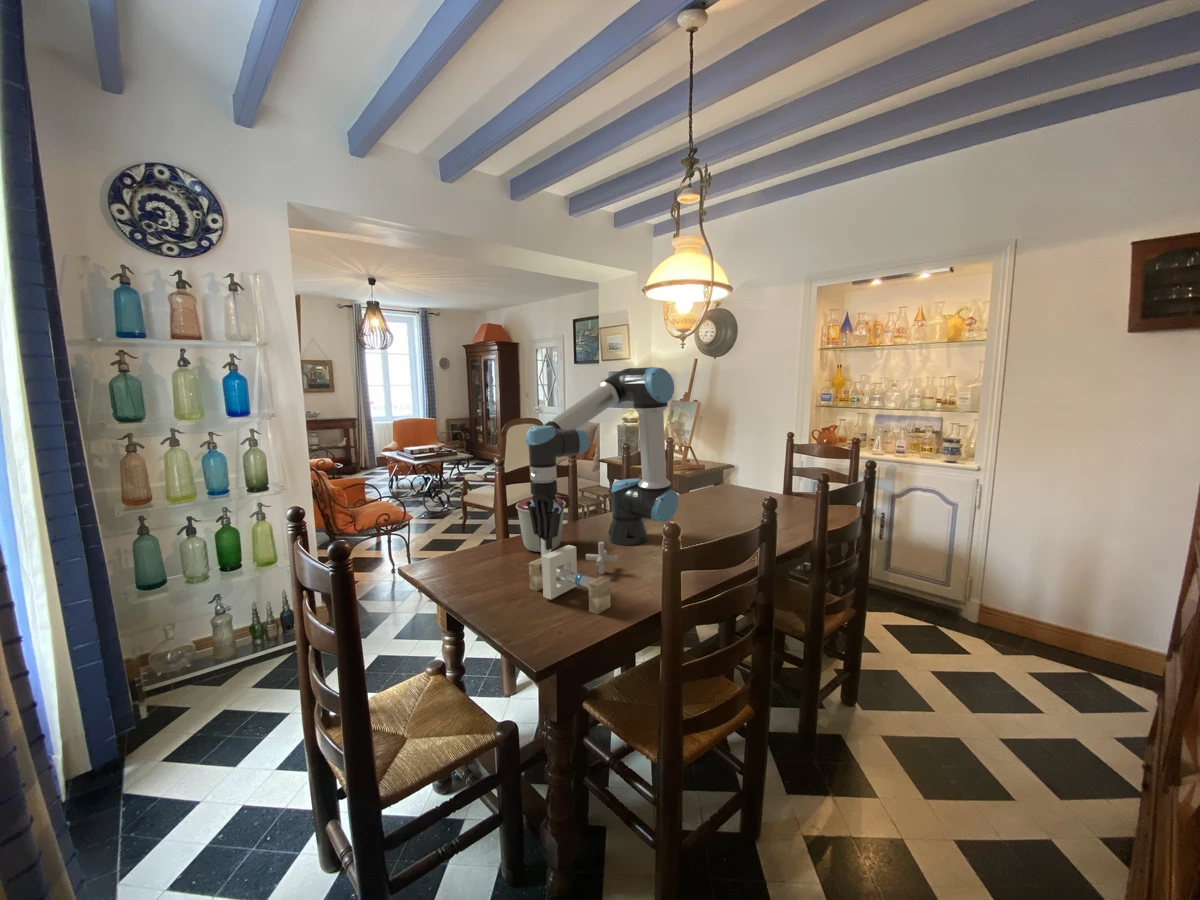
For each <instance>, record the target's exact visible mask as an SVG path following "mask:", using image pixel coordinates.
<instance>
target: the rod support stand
mask: <svg viewBox="0 0 1200 900" xmlns="http://www.w3.org/2000/svg"><path fill="white" fill-rule="evenodd" d="M541 563H542V560H541V557H540V558H537V559H535V560H533V561H530V562H528V573H529V575H528V576H529V578H528V579H529V589H530V590H532V591H535V592H539V591H541V590H543V576H542V572H540V570H539V567H540V564H541ZM588 584H589V589H588V612H590V613H593V614H595V615H600V614H601V613H603V612H604V611H606V610H607V609H609V608H610V607H612V606H611V605H612V604H611V578H609V577H606V576H603V575H601V576H598V577H597V578H595V580H593V581H591V582H589V583H588Z"/></svg>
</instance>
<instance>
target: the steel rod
mask: <svg viewBox="0 0 1200 900" xmlns="http://www.w3.org/2000/svg"><path fill="white" fill-rule="evenodd" d="M539 570H540V572H542V563H541V564H540V567H539ZM556 575H557V579H558V580H561V579H562V580H565V581H568V582H571V583H574V584H576V585H577V587H578V586H579V587H581V588H582V587H584V588H586V589H588V590H589V584H588V583H589V582H591V581H593V580H595V579H596V578H595V577H592V576H589V575H586V574H584V573H581V572H580V573H579V572H577V573H576V572H573V571H570V570H567V569H564V568H563V567H561V566H559V567H557V568H556Z"/></svg>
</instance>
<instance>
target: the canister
mask: <svg viewBox="0 0 1200 900" xmlns="http://www.w3.org/2000/svg"><path fill="white" fill-rule="evenodd" d="M532 497H533V496H531V497H526V498H524V499H522V500H520V501H519V502H517V503H516V505H515V508H516V510H517V514H518V519H519V524H520V526H519V527H520V533H521V539H522V542H523V545H524V547H525V548H526V549H527V550H528V551H529V552H536V553H541V548H540V541H539V537H538V535H537V534H536V535H535V534H534V531H533V527H532V522H531V517H530V512H529V509H528V506H527V504H526V503H527V502H528V501H531V500H532ZM555 497H556V496H555ZM556 500H557V504H558V505H559V506H563V511H562V513H561V517H560V523H559V530H558V536H557V537H554V538H552V549H551V551H555V550H557V549H558V548H559V546H560V544H561V541H562V535H563V534H562V533H563V525H564V512H565V506H567V503H566V502H565V500H563V499H561V498H559V497H556ZM537 530H538V529H537Z"/></svg>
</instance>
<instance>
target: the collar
mask: <svg viewBox="0 0 1200 900" xmlns="http://www.w3.org/2000/svg"><path fill="white" fill-rule="evenodd" d="M577 560H578V559H577V546H574V545H572V544H571V545H570V544H567V545H564V546H562V547H559V548H556V549H554V550H551V552H550V553H548V554H545V555H543V556H542V576H543V589H542V593H543V594H542V595H543V598H546V599H547V600H548V599H549V600H554V599H555V598H557V597H558V596H559V597H560V595H563V594H565V593H567V592H568V591H570V590H572V589H574V588H575V587H578V585H576V584H574V583H571V582H568V581H565V580H562V579H558V578H557V575H556V568H557V567H561V566H563V567H562V568H564V569H567V570H570V571H573V572H576V573H578V566H577V563H578V562H577ZM557 579H558V580H557Z"/></svg>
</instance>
